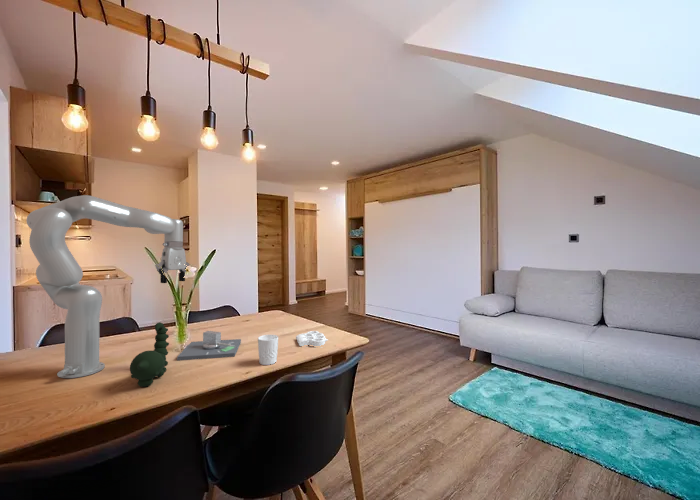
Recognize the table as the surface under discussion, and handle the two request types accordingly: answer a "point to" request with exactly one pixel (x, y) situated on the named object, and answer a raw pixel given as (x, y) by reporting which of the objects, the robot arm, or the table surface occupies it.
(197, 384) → the table surface
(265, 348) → the white cup
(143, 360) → the toy figurine
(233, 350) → the dial plate
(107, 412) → the table surface
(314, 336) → the white brass knuckles
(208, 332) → the gray cube on spoon
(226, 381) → the table surface
